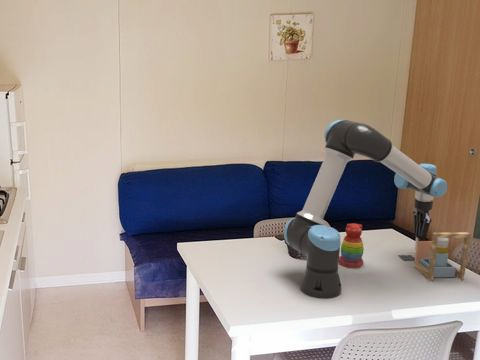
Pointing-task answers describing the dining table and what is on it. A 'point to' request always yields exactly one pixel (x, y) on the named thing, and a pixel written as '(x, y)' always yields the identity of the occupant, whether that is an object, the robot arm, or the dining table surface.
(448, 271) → the tray
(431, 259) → the wooden frame rack
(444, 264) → the bottle
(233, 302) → the dining table surface
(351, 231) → the stacking bear
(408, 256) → the pit pads
